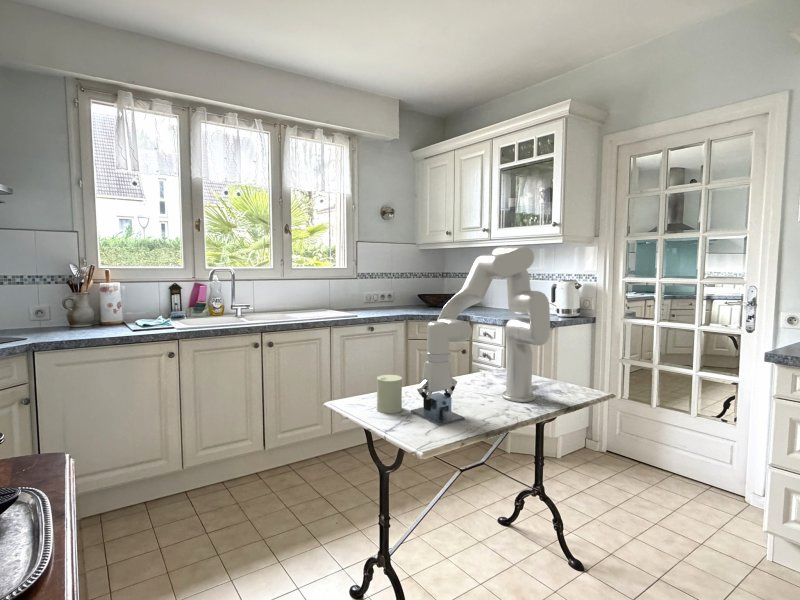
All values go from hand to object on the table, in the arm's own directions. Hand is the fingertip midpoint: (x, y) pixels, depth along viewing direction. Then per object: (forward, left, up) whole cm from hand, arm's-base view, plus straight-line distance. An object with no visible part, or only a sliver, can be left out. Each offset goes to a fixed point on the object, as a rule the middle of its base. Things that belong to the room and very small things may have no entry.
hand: (437, 407), depth 155 cm
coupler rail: (0, 0, -3) cm, 3 cm away
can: (+10, -15, -3) cm, 18 cm away
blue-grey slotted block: (0, 0, -2) cm, 2 cm away
